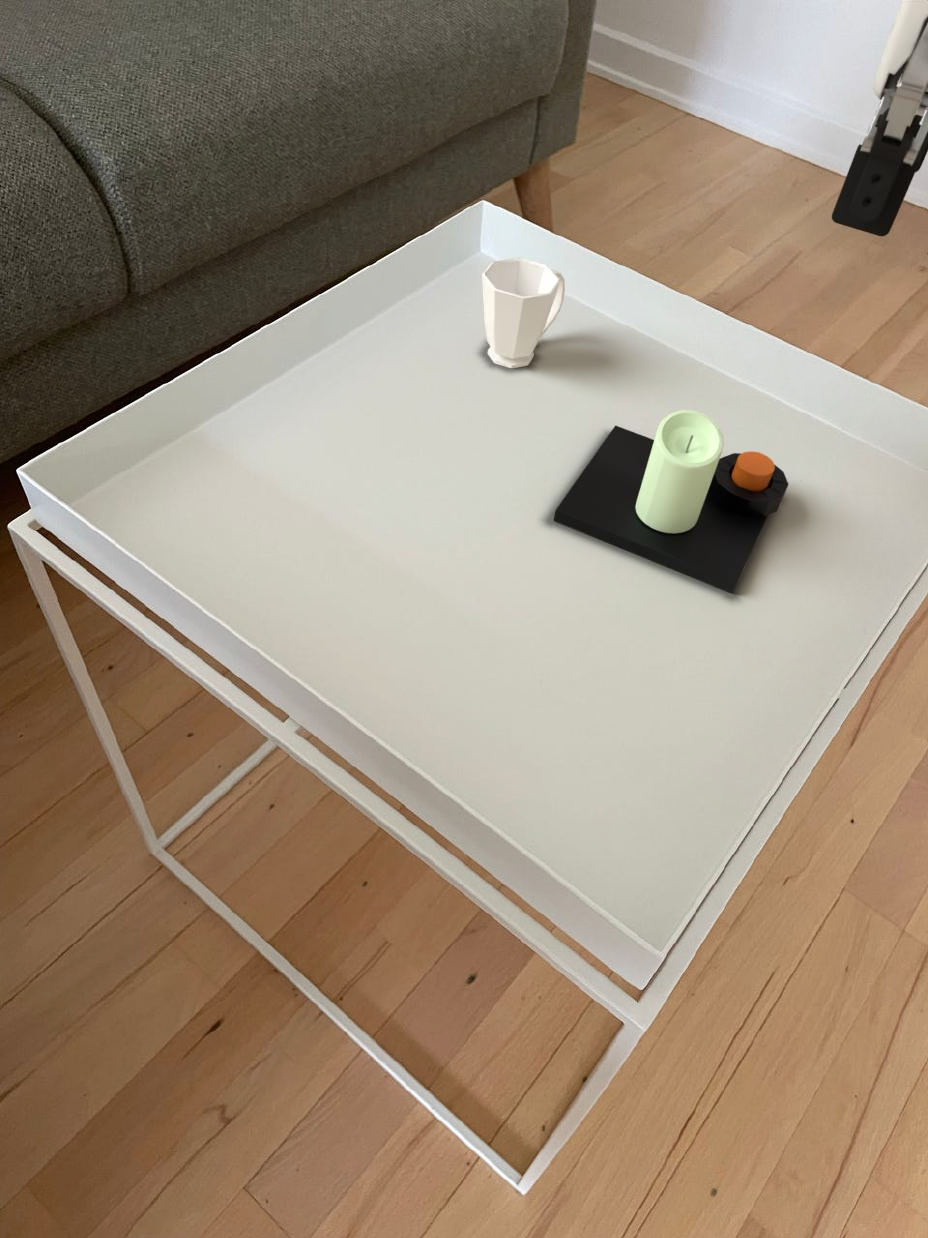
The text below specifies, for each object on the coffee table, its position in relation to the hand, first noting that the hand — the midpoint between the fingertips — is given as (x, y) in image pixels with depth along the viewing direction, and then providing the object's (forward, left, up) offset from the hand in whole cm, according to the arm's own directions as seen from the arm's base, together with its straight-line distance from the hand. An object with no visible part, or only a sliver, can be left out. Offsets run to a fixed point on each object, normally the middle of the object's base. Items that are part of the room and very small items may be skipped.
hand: (876, 194), depth 57 cm
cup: (+26, -15, -28) cm, 41 cm away
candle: (+6, +1, -27) cm, 28 cm away
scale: (+6, -1, -28) cm, 29 cm away
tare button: (+1, -5, -26) cm, 26 cm away
